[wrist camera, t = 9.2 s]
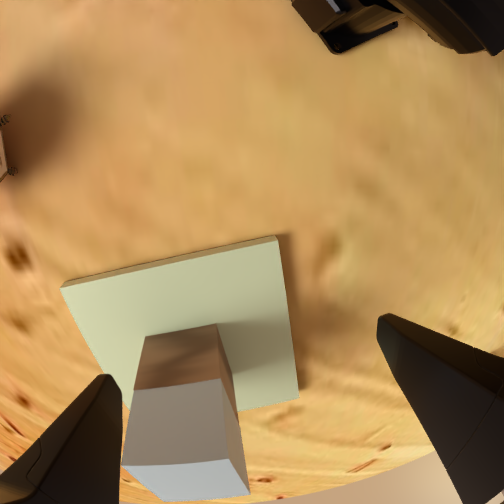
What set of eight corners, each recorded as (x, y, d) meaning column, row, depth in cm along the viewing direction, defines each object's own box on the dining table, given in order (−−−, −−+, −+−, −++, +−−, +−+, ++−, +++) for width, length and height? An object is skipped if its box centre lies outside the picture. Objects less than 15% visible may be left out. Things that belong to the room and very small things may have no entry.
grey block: (220, 378, 16) (228, 458, 11) (240, 427, 19) (250, 494, 13) (133, 390, 16) (121, 465, 11) (166, 437, 18) (163, 501, 13)
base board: (274, 235, 20) (277, 240, 20) (296, 390, 27) (299, 398, 26) (64, 282, 20) (59, 288, 19) (140, 416, 26) (139, 423, 25)
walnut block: (216, 323, 21) (220, 377, 16) (232, 374, 24) (239, 427, 18) (145, 336, 21) (133, 389, 16) (169, 385, 23) (165, 436, 18)
